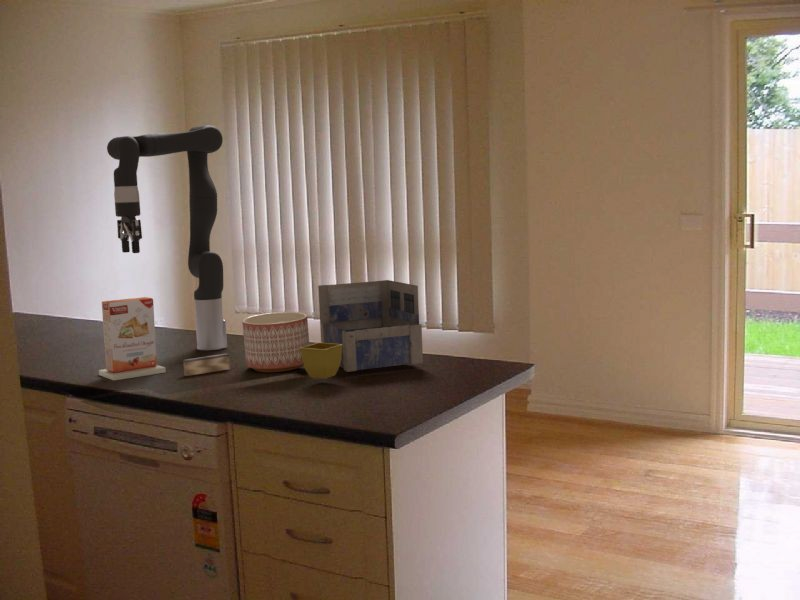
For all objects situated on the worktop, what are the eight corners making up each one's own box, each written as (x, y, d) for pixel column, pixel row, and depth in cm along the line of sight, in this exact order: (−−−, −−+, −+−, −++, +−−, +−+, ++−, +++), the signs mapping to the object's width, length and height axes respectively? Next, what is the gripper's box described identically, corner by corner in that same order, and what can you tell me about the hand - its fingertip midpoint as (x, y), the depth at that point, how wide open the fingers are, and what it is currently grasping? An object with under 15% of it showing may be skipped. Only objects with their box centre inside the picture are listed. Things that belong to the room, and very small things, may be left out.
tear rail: (227, 368, 285) (226, 353, 284) (229, 369, 284) (229, 354, 283) (184, 375, 277) (183, 359, 276) (186, 376, 275) (185, 360, 275)
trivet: (150, 367, 292) (149, 362, 292) (165, 372, 282) (165, 367, 282) (99, 374, 283) (98, 370, 282) (113, 380, 273) (112, 375, 273)
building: (422, 362, 282) (420, 285, 279) (347, 371, 273) (343, 291, 270) (393, 351, 303) (390, 279, 301) (322, 359, 294) (318, 285, 291)
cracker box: (114, 373, 276) (108, 302, 273) (105, 371, 280) (100, 301, 278) (158, 366, 285) (153, 297, 282) (149, 364, 289) (144, 296, 287)
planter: (247, 376, 272) (242, 326, 270) (246, 362, 291) (241, 315, 289) (313, 370, 276) (309, 320, 273) (308, 356, 294) (304, 309, 292)
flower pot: (326, 381, 260) (324, 349, 259) (300, 379, 264) (299, 347, 263) (344, 375, 267) (343, 344, 266) (319, 373, 272) (318, 342, 271)
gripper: (147, 200, 293) (151, 252, 295) (130, 200, 304) (134, 251, 306) (123, 201, 288) (127, 254, 290) (107, 201, 300) (111, 252, 302)
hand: (131, 252), depth 298 cm, fingers open, 8 cm apart
